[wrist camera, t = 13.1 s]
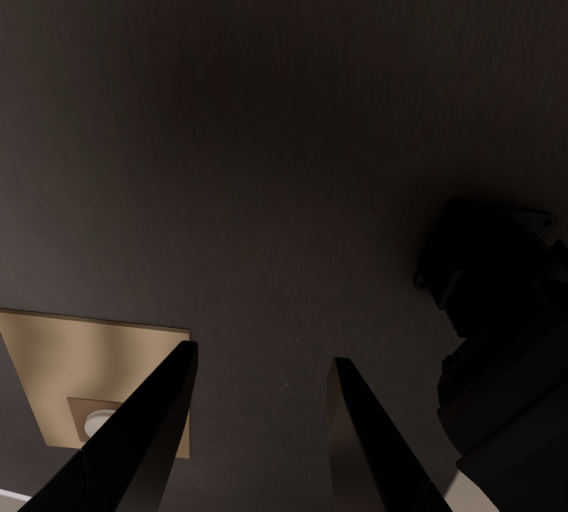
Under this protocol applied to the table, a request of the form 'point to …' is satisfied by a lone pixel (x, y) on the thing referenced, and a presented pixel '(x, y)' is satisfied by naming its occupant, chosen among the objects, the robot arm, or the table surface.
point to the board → (83, 367)
